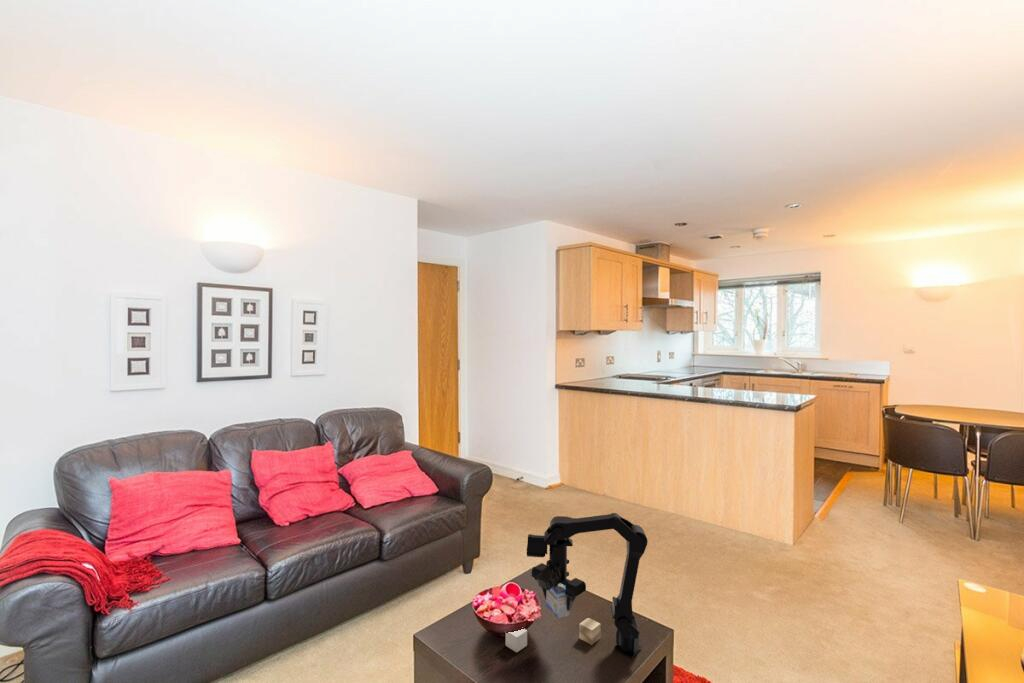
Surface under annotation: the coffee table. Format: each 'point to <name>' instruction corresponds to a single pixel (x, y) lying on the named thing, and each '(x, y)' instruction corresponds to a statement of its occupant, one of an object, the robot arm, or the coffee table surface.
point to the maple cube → (589, 631)
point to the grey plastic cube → (516, 640)
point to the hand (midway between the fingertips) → (557, 604)
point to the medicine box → (557, 601)
